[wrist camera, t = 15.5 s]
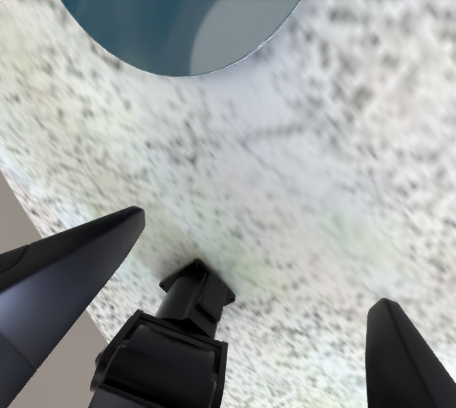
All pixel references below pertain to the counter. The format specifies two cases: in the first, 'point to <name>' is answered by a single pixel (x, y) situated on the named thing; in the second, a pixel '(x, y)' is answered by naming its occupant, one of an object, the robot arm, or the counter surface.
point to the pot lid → (181, 31)
